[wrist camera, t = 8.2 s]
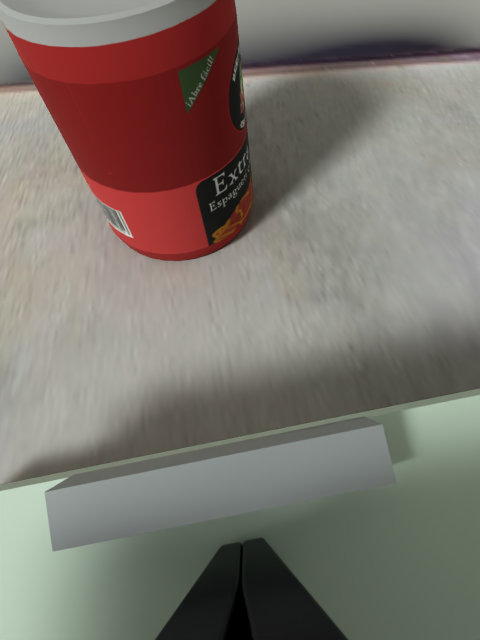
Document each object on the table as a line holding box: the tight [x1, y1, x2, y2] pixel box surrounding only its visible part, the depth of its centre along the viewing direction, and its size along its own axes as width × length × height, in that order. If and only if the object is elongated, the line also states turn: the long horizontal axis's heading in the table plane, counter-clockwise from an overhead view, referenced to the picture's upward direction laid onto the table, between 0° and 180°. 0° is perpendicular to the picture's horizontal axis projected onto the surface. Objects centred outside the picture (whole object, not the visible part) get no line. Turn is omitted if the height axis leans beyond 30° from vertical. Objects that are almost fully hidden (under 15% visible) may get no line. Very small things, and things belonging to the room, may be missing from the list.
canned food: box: [0, 0, 253, 261], centre depth 18 cm, size 8×8×11 cm
